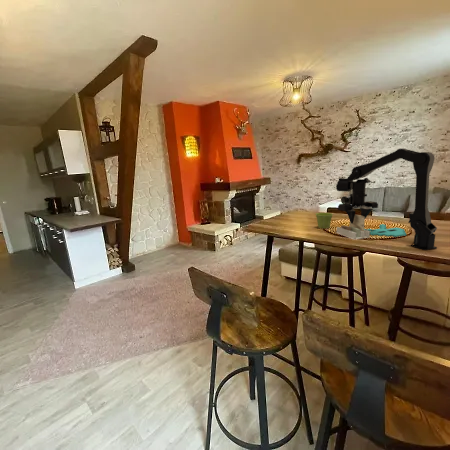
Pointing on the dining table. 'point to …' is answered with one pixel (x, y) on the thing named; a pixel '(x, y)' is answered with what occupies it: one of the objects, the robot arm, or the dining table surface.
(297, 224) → the dining table surface
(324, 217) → the plant pot
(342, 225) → the walnut offcut
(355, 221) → the birch sheet
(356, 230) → the sage offcut
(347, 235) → the board rack
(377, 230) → the alien figure
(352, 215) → the robot arm
